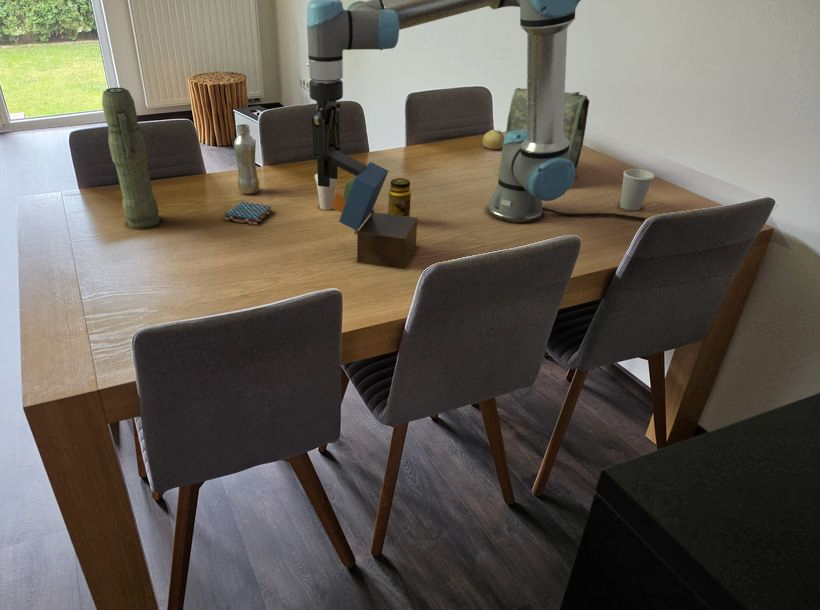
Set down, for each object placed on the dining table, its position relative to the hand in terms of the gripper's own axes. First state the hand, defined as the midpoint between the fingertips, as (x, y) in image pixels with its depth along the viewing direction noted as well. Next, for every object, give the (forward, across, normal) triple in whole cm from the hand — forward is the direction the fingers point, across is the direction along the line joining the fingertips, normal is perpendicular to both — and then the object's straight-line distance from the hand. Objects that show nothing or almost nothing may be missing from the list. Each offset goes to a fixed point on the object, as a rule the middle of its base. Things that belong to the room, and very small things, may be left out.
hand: (327, 181), depth 149 cm
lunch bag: (+17, -71, +48) cm, 87 cm away
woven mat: (+17, -11, -28) cm, 35 cm away
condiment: (+17, -20, +13) cm, 29 cm away
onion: (+17, -96, +30) cm, 102 cm away
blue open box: (+3, 0, +12) cm, 12 cm away
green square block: (+2, 0, +11) cm, 11 cm away
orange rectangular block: (+6, 0, +10) cm, 12 cm away
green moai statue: (+18, +2, -54) cm, 57 cm away
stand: (+17, 0, +16) cm, 23 cm away
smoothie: (+17, -24, -9) cm, 31 cm away
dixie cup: (+17, -52, +76) cm, 93 cm away
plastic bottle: (+17, -28, -36) cm, 49 cm away
